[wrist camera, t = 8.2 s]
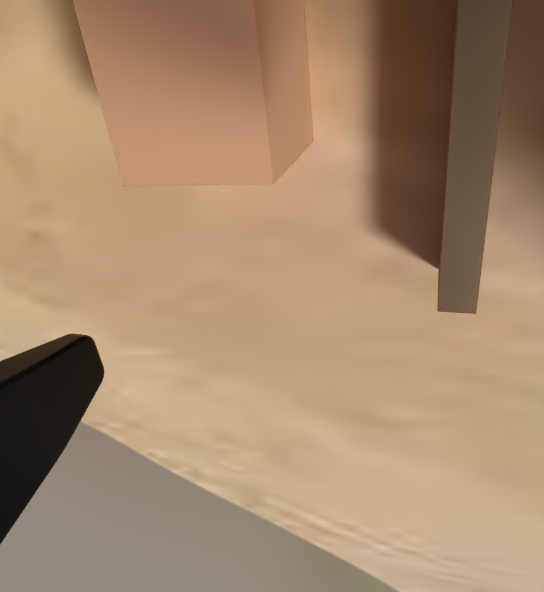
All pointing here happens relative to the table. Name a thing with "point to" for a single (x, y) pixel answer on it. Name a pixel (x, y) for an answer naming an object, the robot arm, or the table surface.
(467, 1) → the walnut fence
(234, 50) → the light brown cube
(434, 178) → the table surface
